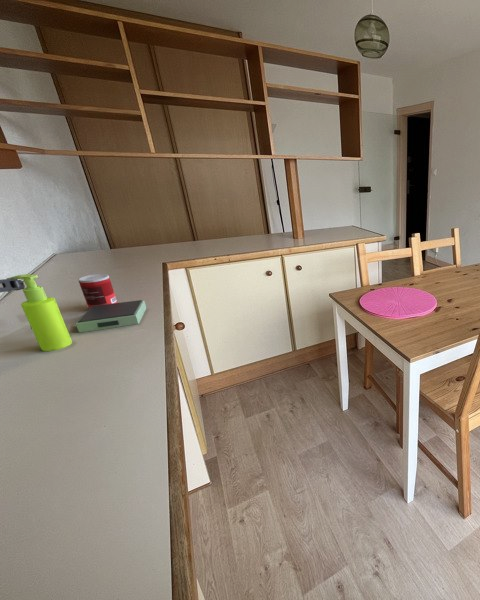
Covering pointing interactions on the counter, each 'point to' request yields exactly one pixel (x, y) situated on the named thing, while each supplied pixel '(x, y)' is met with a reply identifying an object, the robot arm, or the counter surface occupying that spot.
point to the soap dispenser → (44, 316)
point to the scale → (111, 316)
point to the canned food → (97, 290)
